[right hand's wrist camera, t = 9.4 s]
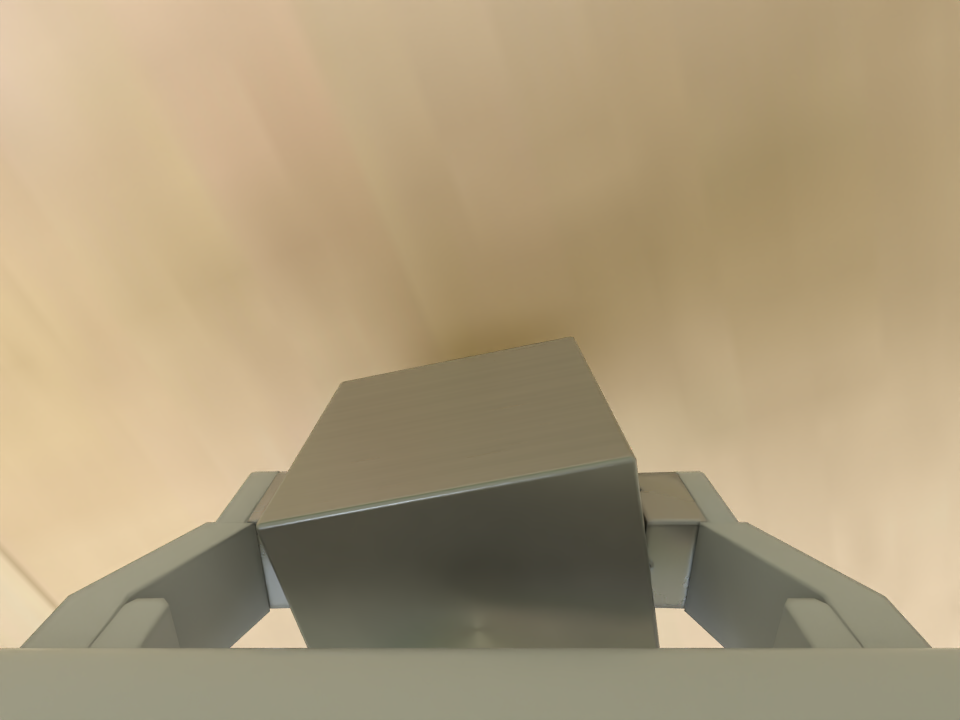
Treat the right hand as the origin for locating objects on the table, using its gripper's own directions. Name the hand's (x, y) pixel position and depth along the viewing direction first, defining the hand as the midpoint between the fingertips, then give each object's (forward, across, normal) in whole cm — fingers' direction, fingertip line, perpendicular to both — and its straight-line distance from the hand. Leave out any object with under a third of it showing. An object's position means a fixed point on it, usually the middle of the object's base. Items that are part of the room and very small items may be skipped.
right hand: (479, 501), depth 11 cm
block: (+2, 0, 0) cm, 2 cm away
